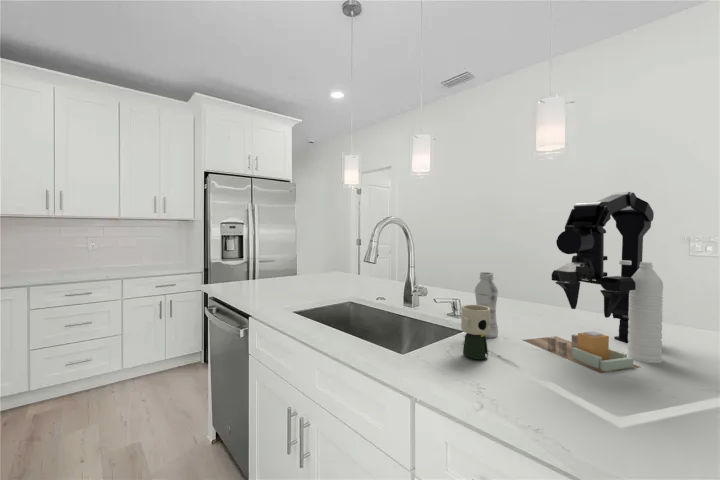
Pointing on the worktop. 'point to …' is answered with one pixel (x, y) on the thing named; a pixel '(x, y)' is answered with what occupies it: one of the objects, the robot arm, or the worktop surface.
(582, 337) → the orange upright block
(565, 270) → the robot arm
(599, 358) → the bracket
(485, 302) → the plastic bottle
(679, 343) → the worktop surface
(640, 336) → the water bottle
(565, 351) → the board
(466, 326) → the character mug
